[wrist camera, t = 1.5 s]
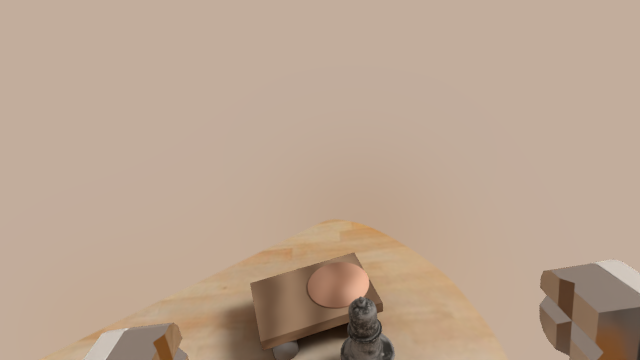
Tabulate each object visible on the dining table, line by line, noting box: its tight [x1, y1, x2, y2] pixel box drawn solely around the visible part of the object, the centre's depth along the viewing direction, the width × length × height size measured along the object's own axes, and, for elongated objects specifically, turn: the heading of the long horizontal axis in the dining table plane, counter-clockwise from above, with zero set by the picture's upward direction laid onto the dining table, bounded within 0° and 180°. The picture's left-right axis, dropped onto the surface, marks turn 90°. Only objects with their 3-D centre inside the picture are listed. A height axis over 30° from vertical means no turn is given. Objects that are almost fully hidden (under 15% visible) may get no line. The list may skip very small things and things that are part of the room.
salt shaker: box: [341, 296, 395, 360], centre depth 42 cm, size 6×6×12 cm
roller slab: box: [250, 253, 383, 360], centre depth 52 cm, size 15×10×5 cm, turn 106°
